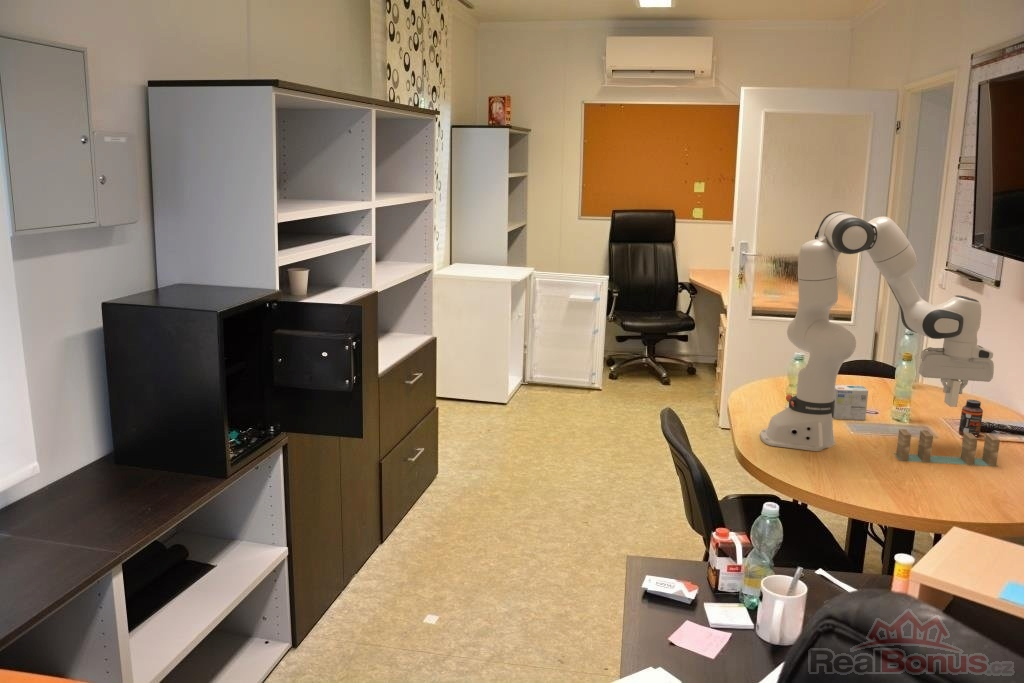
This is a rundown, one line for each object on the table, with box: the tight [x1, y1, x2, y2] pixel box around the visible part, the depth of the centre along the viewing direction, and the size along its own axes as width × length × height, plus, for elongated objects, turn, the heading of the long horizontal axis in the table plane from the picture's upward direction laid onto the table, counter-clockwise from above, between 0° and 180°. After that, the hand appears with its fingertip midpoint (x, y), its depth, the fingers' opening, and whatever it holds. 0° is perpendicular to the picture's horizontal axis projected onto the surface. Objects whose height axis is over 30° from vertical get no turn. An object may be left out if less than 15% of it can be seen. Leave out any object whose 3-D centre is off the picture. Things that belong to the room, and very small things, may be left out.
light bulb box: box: [833, 384, 869, 421], centre depth 278 cm, size 11×7×11 cm, turn 84°
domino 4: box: [959, 433, 979, 466], centre depth 237 cm, size 2×5×8 cm, turn 170°
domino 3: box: [943, 379, 962, 408], centre depth 247 cm, size 2×5×8 cm, turn 171°
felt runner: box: [893, 452, 999, 468], centre depth 239 cm, size 27×6×1 cm, turn 80°
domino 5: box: [981, 433, 1001, 467], centre depth 236 cm, size 2×5×8 cm, turn 170°
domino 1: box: [895, 428, 912, 462], centre depth 240 cm, size 2×5×8 cm, turn 170°
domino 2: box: [916, 429, 934, 463], centre depth 239 cm, size 2×5×8 cm, turn 171°
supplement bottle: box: [958, 398, 984, 436], centre depth 261 cm, size 6×6×11 cm
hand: (952, 393), depth 247 cm, fingers closed on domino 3, 2 cm apart
